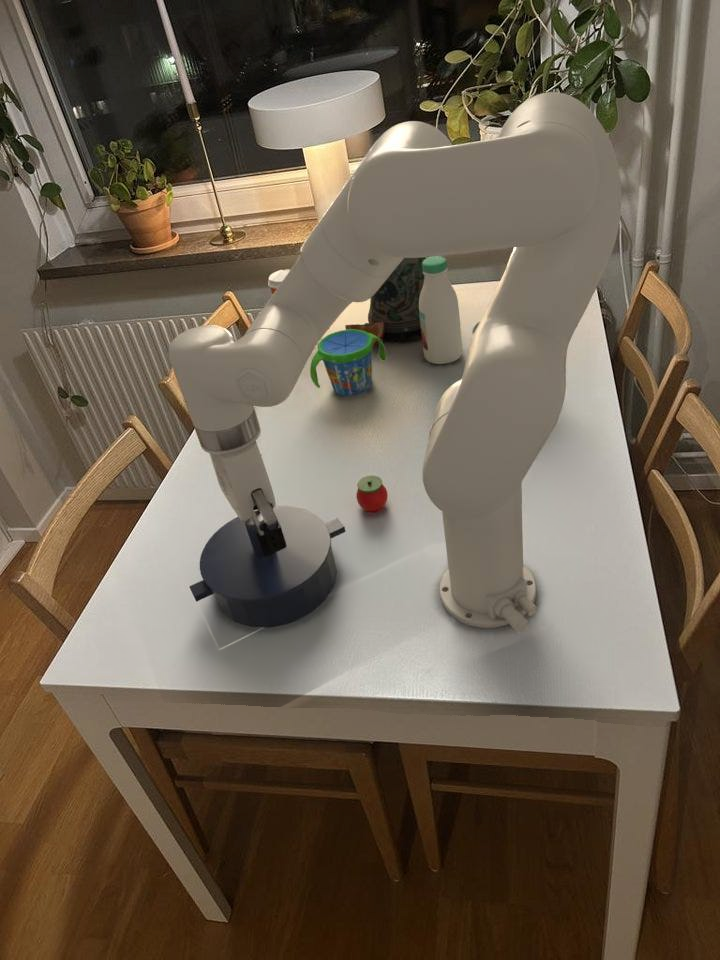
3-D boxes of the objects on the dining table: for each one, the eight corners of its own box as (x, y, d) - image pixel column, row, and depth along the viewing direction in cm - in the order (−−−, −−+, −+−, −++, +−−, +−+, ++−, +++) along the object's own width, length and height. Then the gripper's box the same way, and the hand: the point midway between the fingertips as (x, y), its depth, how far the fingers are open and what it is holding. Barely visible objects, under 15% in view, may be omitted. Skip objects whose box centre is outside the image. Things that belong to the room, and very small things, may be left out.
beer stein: (447, 338, 154) (436, 219, 139) (355, 350, 157) (335, 234, 141) (442, 304, 167) (431, 192, 152) (357, 315, 170) (338, 206, 154)
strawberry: (395, 511, 114) (390, 482, 110) (368, 523, 112) (362, 495, 109) (380, 495, 117) (375, 467, 114) (354, 507, 116) (348, 479, 112)
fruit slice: (346, 352, 156) (342, 331, 153) (352, 337, 161) (348, 316, 158) (385, 350, 154) (381, 328, 151) (389, 335, 159) (386, 313, 156)
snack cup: (378, 364, 150) (371, 319, 144) (400, 386, 142) (393, 339, 136) (307, 389, 147) (296, 344, 141) (326, 413, 139) (315, 366, 133)
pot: (375, 583, 102) (368, 553, 99) (222, 659, 96) (209, 629, 92) (322, 517, 115) (315, 488, 112) (185, 580, 109) (172, 551, 105)
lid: (355, 563, 98) (346, 523, 94) (229, 628, 93) (213, 589, 88) (297, 495, 112) (287, 457, 107) (184, 548, 106) (169, 510, 102)
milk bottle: (469, 349, 149) (462, 253, 137) (451, 367, 144) (442, 270, 132) (435, 343, 153) (425, 250, 141) (417, 361, 148) (405, 267, 136)
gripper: (178, 408, 94) (215, 509, 105) (221, 473, 82) (259, 580, 92) (232, 387, 96) (264, 487, 107) (282, 447, 84) (312, 555, 94)
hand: (261, 530), depth 99 cm, fingers open, 9 cm apart
